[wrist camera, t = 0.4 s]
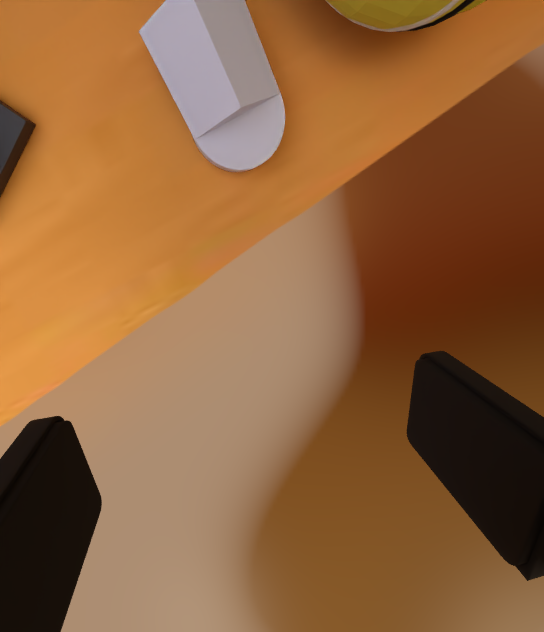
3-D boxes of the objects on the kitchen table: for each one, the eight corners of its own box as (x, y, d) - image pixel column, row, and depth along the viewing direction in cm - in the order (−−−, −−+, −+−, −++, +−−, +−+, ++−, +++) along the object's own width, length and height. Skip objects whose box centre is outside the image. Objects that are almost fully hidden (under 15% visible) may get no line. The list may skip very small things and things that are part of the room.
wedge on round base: (146, 48, 28) (218, 187, 34) (129, 9, 22) (220, 186, 27) (232, 1, 28) (291, 147, 34) (240, -52, 22) (310, 137, 27)
